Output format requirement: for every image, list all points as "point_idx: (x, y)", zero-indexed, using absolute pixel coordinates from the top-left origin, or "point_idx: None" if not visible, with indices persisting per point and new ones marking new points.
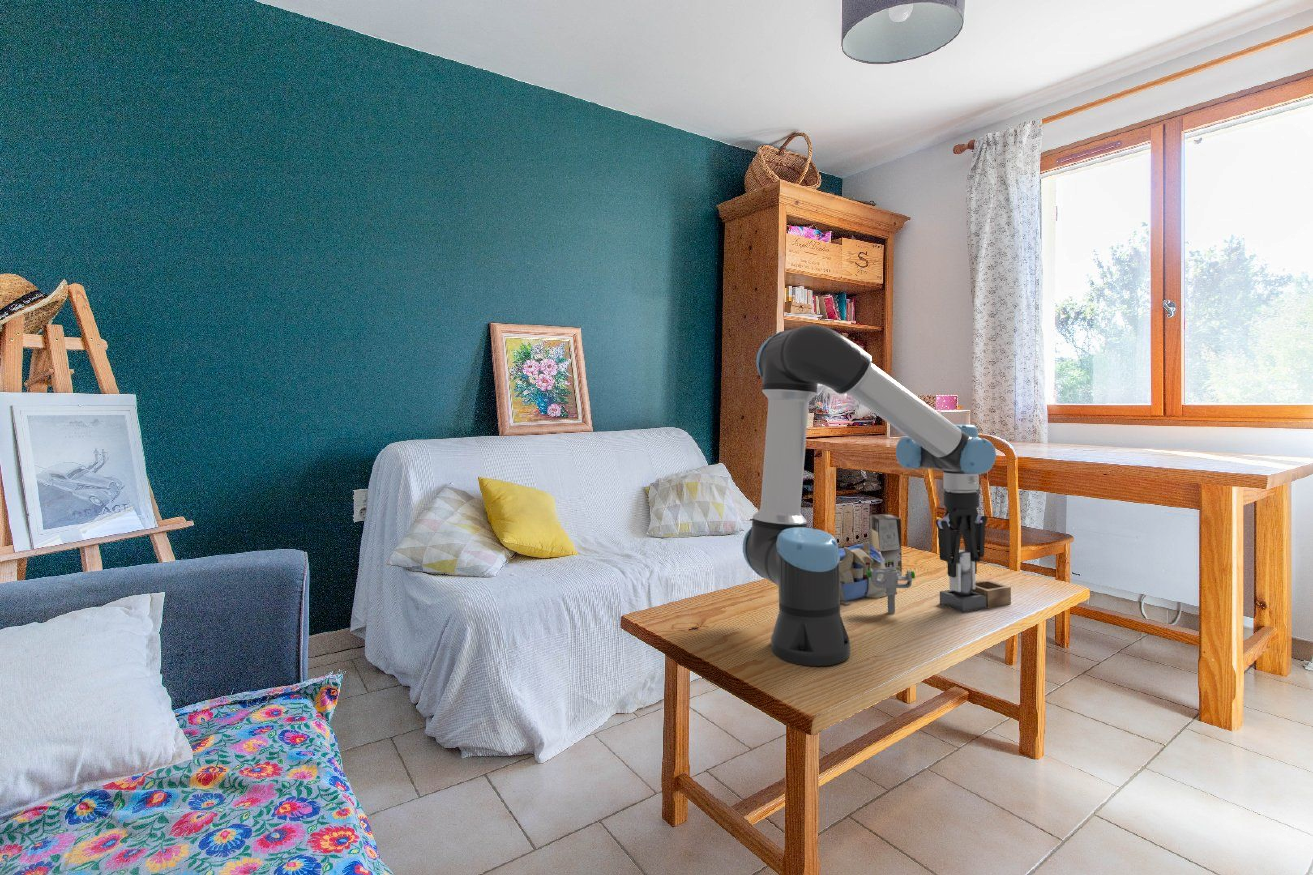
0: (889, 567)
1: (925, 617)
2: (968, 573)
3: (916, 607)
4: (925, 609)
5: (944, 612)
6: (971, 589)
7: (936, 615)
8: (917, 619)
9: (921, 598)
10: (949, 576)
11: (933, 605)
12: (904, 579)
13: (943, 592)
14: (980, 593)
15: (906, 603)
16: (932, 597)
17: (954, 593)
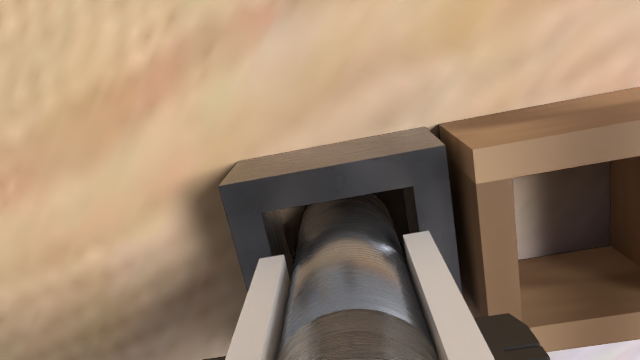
0: None
1: (56, 335)
2: None
3: (70, 187)
4: (107, 230)
5: (186, 296)
6: (469, 211)
7: (123, 324)
8: (6, 349)
9: (177, 24)
10: (239, 317)
11: (185, 179)
12: None
13: (232, 214)
14: (474, 282)
15: (36, 101)
16: (263, 22)
17: (296, 251)
